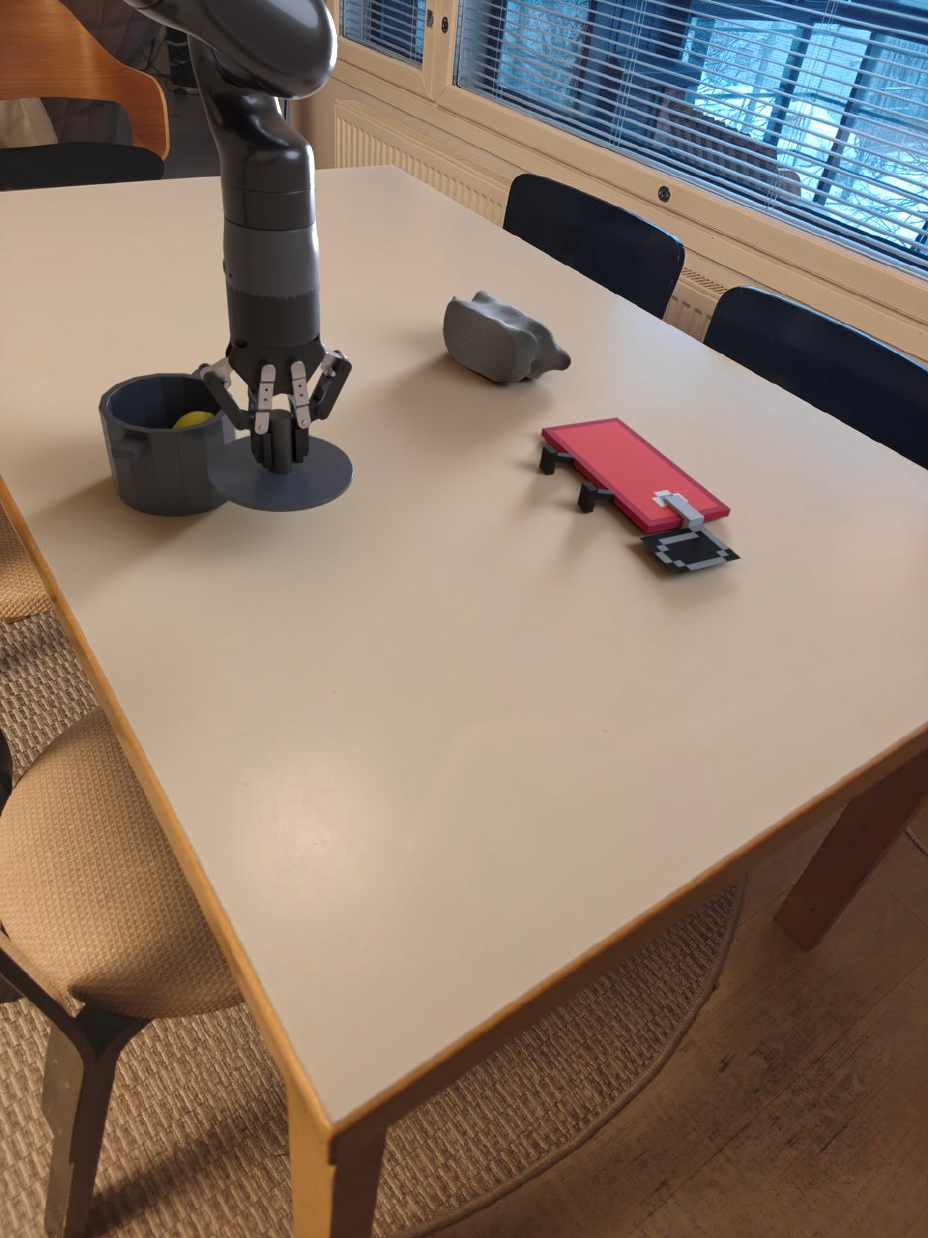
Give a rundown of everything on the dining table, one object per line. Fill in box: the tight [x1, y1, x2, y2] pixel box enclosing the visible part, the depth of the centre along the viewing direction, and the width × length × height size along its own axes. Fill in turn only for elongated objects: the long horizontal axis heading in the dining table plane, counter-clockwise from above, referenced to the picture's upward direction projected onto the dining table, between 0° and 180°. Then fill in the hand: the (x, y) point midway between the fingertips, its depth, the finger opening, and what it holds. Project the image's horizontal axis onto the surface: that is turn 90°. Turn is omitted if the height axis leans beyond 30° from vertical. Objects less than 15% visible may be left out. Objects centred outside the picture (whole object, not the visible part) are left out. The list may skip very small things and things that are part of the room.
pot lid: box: [207, 408, 354, 513], centre depth 80 cm, size 14×14×7 cm
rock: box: [442, 290, 572, 383], centre depth 119 cm, size 18×11×8 cm, turn 40°
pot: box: [97, 368, 238, 517], centre depth 89 cm, size 13×18×10 cm
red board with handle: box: [538, 417, 742, 575], centre depth 97 cm, size 30×3×15 cm
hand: (281, 460), depth 81 cm, fingers closed on pot lid, 2 cm apart
